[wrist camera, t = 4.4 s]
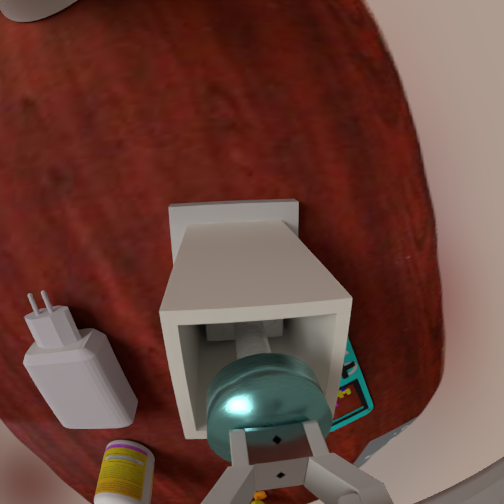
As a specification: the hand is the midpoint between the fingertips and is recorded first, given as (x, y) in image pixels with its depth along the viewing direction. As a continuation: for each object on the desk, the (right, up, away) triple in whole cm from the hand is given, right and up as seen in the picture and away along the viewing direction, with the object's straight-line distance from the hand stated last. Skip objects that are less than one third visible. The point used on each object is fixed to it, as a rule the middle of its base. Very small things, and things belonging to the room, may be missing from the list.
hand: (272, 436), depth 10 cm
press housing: (-2, +6, +17) cm, 19 cm away
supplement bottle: (-16, -20, +24) cm, 35 cm away
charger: (-19, -3, +19) cm, 27 cm away
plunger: (-1, +4, +11) cm, 12 cm away
